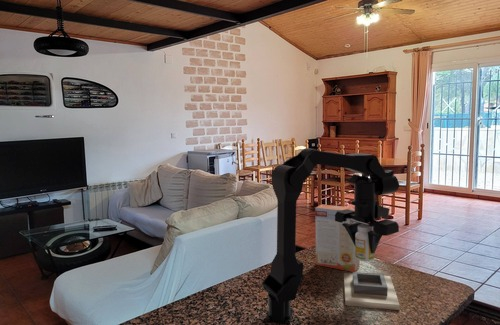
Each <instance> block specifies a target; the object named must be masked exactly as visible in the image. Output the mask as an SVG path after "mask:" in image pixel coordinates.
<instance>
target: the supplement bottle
mask: <svg viewBox="0 0 500 325" xmlns="http://www.w3.org/2000/svg"><path fill="white" fill-rule="evenodd" d="M372 229H373V227H371V226H368V225H364V224H360V225H358V231H359V232H357V233H356V234H355V255H356V259H358V260H360V261H361V262H371V261H374V260H375V257H376V256H375V255H376V252H375V253H371V250H370V245H369V239H368V232H369V231H372Z"/></svg>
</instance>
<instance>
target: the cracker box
mask: <svg viewBox="0 0 500 325" xmlns="http://www.w3.org/2000/svg"><path fill="white" fill-rule="evenodd" d="M345 209H349V210H353V211H355V207H351V206H342V205H332V204H331V205H330V204H320V205H318V206H316V207H315V210H314V211H315V218H314V219H315V265H316V266H320V267H326V268H332V269H336V270H341V271H347V272H351V273H353V272H357V270H358V269H359V268H360V264H361V263H360V260H358V259H356V255H355V245H354V243H353V241H352V239H351V237H350V235H349V234H348V232H347V230H346V229H345V227H344V226H342V224H343V223H344V221H343V222H342V223H340V222H337V221H335V214H336V212H337V211H341V210H345Z"/></svg>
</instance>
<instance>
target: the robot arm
mask: <svg viewBox="0 0 500 325" xmlns="http://www.w3.org/2000/svg"><path fill="white" fill-rule="evenodd" d="M317 165H319V166H321V165H322V166H327V167H335V168H344V169H346V170H348V171H351V172H353V173H356V174H353V175H352V176H351V177H350V178H349V179H348V180H347V182H348V183H349V184H354V186H353V187H354V188H353V189H354V190H353V191H354V196H353V197H354V200H351V205H353V206H354V208H355V211H353V210H349V209H345V210H341V211H337V212H336V214H335V221H337V222H340V223H342V222H343V221H344V223H343V224H342V226H344V227H345V229H346V230H347V232H348V234H349V235H350V237H351V239H352V241H353V243H354V245H355V234H356V233H357V232H359V231H358V225H360V224H364V225H368V226H371V227H372V231H369V232H368V239H369V245H370V250H371V253H375V254H376V250H377V248H378V246H379V244H380V240H381V239H382V237H385V236H386V237H387V236H390V235H393V234H396V233H399V232H400V229H399V228H400V227H399V226H400V225H399V223H398V222H397V221H395V220H391V219H388V218H389V213H390V207H389V208H388V207H385V206H382V205H380V202H379V200H378V199H377V200H376V196H383V195H390V194H394V193H397V192H398V190H399V189H400V182H399V180H398V177H397V176H396V175H395V174H394V172H395V171H394V170H390V169H386V170H385V169H384V168H383V166H382V164H381V162H380V161H379V157H378V156H377V155H376V154H370V153H363V152H362V153H361V152H354V153H353V152H350V153H347V154H343V153H336V152H329V151H323V150H318V149H316V148H309V147H306V148H304V149H301V151H299V153H297V154H295V155H294V156H292V157H290V158H289V159H287V160H286V161H284V162H283V163H282V164H279V165H277V166H276V167H275V168H274V169H272V171H271V176H270V177H271V183H272V184H271V185H272V189H273V192H274V195H275V197H276V200H277V207H276V208H277V212H276V216H277V220H276V226H277V227H276V230H277V231H276V254H275V256H274V258H273V260H272V261H271V265H270V266H271V267H270V272H269V274H268V275H267V276H266V277H265V278H264V279H263V281H262V282H261V284H262V285H261V286H262V288H263V290H264V291H265V292H267V302H268V307H267V308H268V309H267V313H266V316H265V319H264V320H265V322H266V323H274V324H275V323H276V324H286V325H291V323H292V318H293V315H294V309H292V308H291V301H293V300H295V299H296V298H297V294H298V290H299V287H300V286H301V285H302V279H303V280H304V279H305V278H304V277H305V276H304V274H303V271H304V263H303V262H302V261H300V260H299V259H297V257H296V240H297V238H296V236H297V235H296V233H297V232H296V231H297V202H298V199H299V198H300V196H301V193H302V192H303V187H304V181H306V180H307V179H308V178H309V177H310V176H311V174H312V173H313V170H314V168H315V167H316V166H317ZM361 175H362V176H361ZM381 218H383V219H382V220H379V219H381Z"/></svg>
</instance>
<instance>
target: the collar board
mask: <svg viewBox="0 0 500 325" xmlns="http://www.w3.org/2000/svg"><path fill="white" fill-rule="evenodd" d="M391 278H392V277H391V275H385V274H384V273H372V272H358V271H355V272H351V273H348V272H344V273H343V283H344V284H343V287H344V300H345V302H344V303H345V304H344V305H345V306H346V305H347V306H348V307H360V308H372V309H383V310H396V311H400V309H401V308H400V302H399V300H398V296H397V293H396V290H395V287H394V284H393V281H392V279H391Z"/></svg>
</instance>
